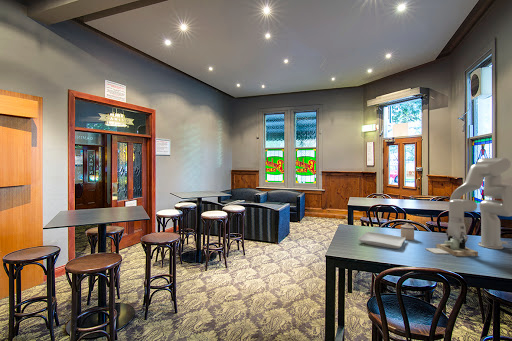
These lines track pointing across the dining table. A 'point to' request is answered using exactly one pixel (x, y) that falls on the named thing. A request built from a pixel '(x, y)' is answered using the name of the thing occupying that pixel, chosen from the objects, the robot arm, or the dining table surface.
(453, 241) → the jug
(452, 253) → the stand
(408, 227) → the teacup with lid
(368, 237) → the square plate
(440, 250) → the pad
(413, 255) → the dining table surface
